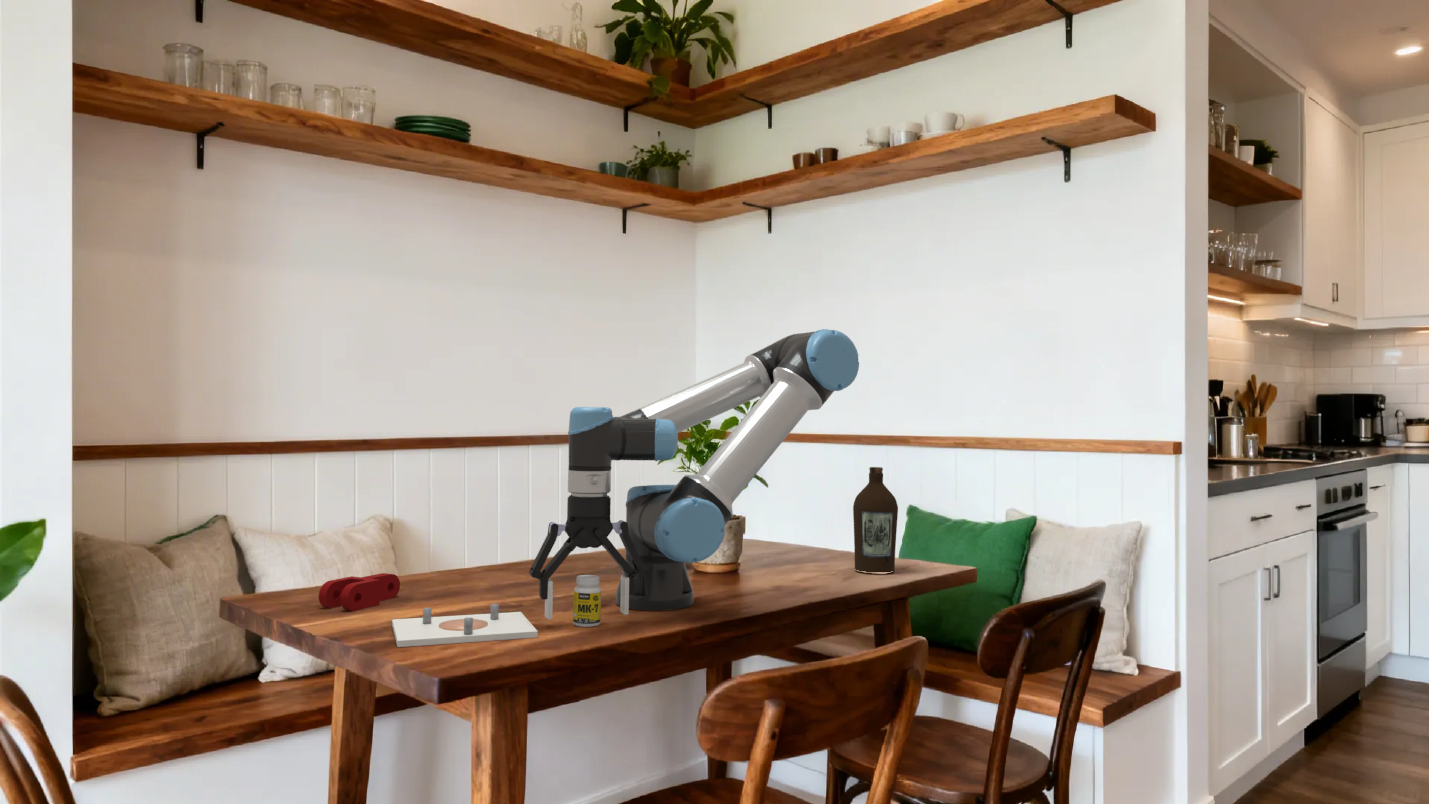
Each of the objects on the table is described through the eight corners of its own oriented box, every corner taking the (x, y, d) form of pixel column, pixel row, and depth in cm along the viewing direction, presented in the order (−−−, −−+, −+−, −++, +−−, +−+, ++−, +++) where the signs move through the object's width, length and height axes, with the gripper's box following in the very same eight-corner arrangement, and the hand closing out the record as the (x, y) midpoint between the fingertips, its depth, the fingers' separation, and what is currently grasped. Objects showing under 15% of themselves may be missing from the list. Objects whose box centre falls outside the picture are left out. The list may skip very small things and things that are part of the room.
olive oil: (850, 567, 235) (851, 465, 235) (893, 568, 234) (895, 466, 234) (854, 574, 224) (856, 468, 224) (900, 576, 224) (901, 469, 224)
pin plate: (520, 617, 172) (520, 597, 172) (537, 637, 158) (538, 616, 158) (392, 625, 164) (392, 604, 164) (397, 647, 149) (397, 624, 150)
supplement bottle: (574, 628, 165) (575, 579, 165) (571, 622, 169) (572, 574, 169) (602, 626, 166) (603, 578, 166) (598, 621, 171) (599, 573, 171)
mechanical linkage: (347, 613, 174) (347, 586, 174) (318, 609, 177) (318, 582, 177) (409, 598, 189) (409, 573, 189) (381, 595, 191) (381, 570, 192)
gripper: (521, 497, 160) (519, 624, 160) (663, 495, 169) (661, 615, 169) (514, 493, 167) (511, 615, 167) (650, 491, 176) (648, 607, 176)
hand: (586, 615), depth 168 cm, fingers open, 13 cm apart
